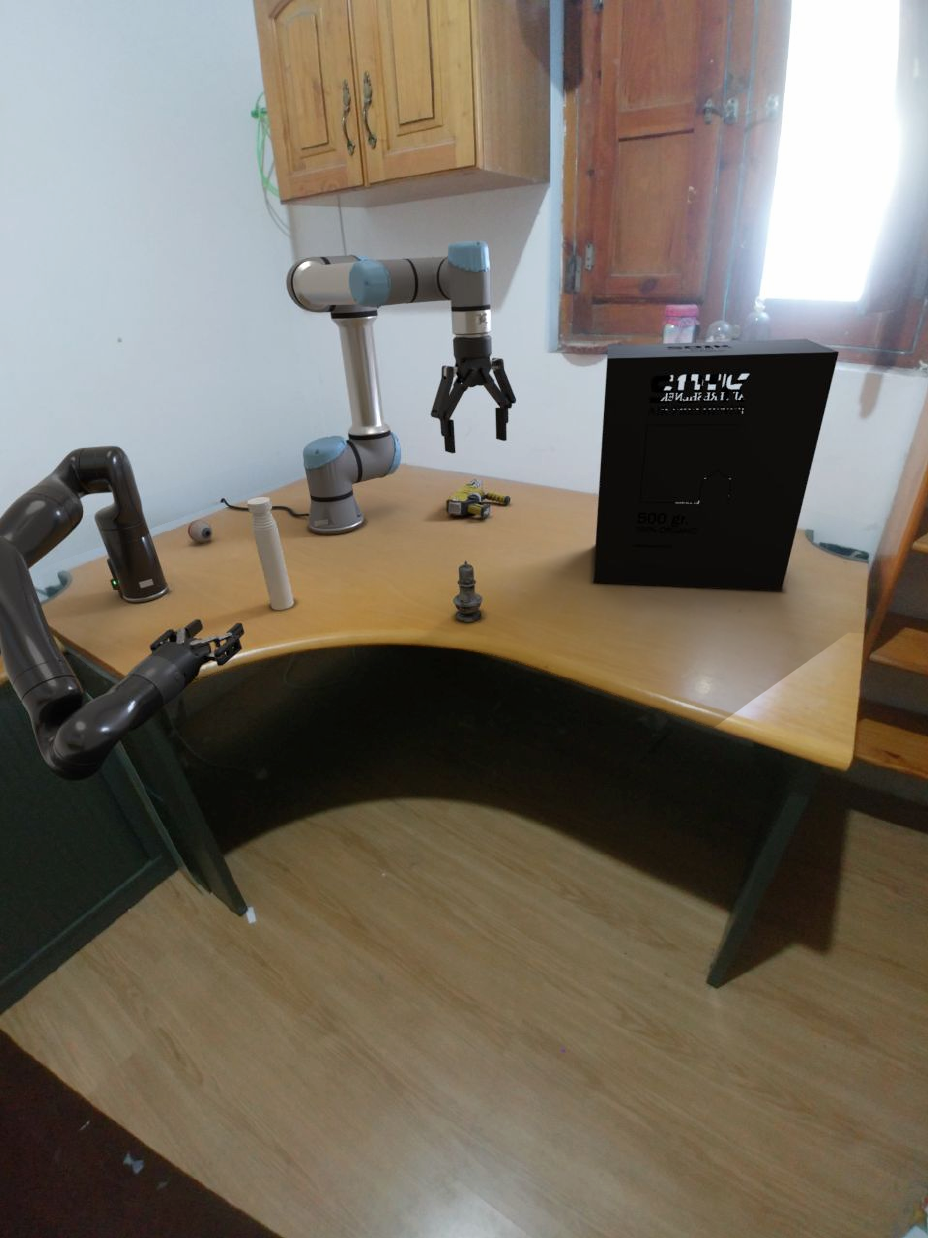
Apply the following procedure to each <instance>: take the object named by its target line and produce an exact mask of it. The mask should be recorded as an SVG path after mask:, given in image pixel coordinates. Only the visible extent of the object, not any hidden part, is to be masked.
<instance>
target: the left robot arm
mask: <svg viewBox="0 0 928 1238" xmlns="http://www.w3.org/2000/svg"><path fill="white" fill-rule="evenodd" d="M110 493H111V494H112V496H113V498H112V499H113V502H112V503H111V504H109V505H107V506H105V507H102V508H100V509H99V510H98V511H96V512H95V513H94V516H93V517H94V518H93V519H94V522H95V525H96V527H97V529H98V532H99V534H100V537H101V539H102V542H103V545H104V548H105V551H106V553H107V555H108V558H107V559H106V563H107V565H108V569H109V571H110V573H111V576H112V578H111V579H110V580H109V582H110V585H111V588H112V590H113V591H117V592H118V595H119V598H120V599H123V600H124V601H125V602H127V603H131V604H138V603H140V604H141V603H145V602H146V603H147V602H150V601H153V600H156V599H159V598H160V597H162V596H164V595H165V594H167V593H168V592H169V589H170V588H169V584H168V582H167V580H166V577H165V575H164V570H163V568H162V565H161V562H160V559H159V556H158V553H157V550H156V547H155V543H154V541H153V538H152V535H151V531H150V529H149V526H148V523H147V521H146V518H145V514H144V510H143V503H142V498H141V495H140V492H139V489H138V485H137V481H136V478H135V474H134V469H133V467H132V463H131V460H130V458H129V456H128V454H127V453H126V451H124V449H123V448H121V447H120V446H119V445H118V446H117V445H102V446H87V447H80V448H76V449H73V450H71V451H69V453H67V455H65V456H64V458H63V459H62V460H61V461H60V462H59V464H58V465H57V466H55V468H54V469H53V470H52V472H51V473H49V474H48V475H47V476H45V477H44V478H43V479H42V480H40V481H39V482H38V483H37V484H36V485H34V486H33V487H31V488H30V489H27V490H26V492H24V493H23V494H21V495H20V496H19V497H18V498H16V499H15V500H14V501H13V502H12V503H11V504H10V506H9V507H8V508H7V509H6V510H5V511H4V512H3V514H2V515H1V516H0V654H1V659H2V664H3V667H4V670H5V673H6V675H7V679H8V680H9V682H10V684H11V686H12V688H13V690H14V692H15V693H16V695H17V697H18V698H19V700H20V702H21V704H22V705H23V707H24V709H25V711H26V712H27V713H28V715H29V719H30V723H31V726H32V730H33V733H34V737H35V740H36V743H37V746H38V749H39V752H40V754H41V757H42V759H43V762H44V763H45V764H46V766H47V767H48V769H49V770H50V771H51V772H52V773H53V774H55V776H57V777H59V778H61V779H63V780H65V781H66V780H67V781H70V782H71V781H73V782H77V781H84V780H87V779H89V778H91V777H92V776H94V775H95V774H96V773H98V771H99V770H100V769H101V768H102V766H103V765H104V764H105V762H106V760H107V758H108V757H109V755H110V754H111V752H112V750H113V749H114V748H115V746H116V745H117V744H118V743H120V741H121V740H122V739H123V738H124V737H125V736H126V735H127V734H129V733H130V732H133V731H136V730H138V729H139V728H140V727H142V726H143V725H144V724H145V723H147V722H148V721H149V720H150V719H151V718H152V717H153V716H154V715H155V714H156V713H157V712H158V711H160V709H162V708H163V707H165V706H166V705H168V704H169V703H170V702H172V700H174V699H175V698H176V697H177V696H179V694H180V693H182V692H183V690H185V688H187V687H188V686H189V685H190V684H191V683H192V682H193V681H194V680H195V679H196V678H198V676H199V674H200V671H201V668H202V666H204V665H205V664H207V663H209V662H210V661H211V662H215V663H216V664H217V666H218V667H222V666H225V664H226V663H228V662H229V661H231V659H232V658H233V657H235V656H236V655H237V654H238V653H240V651H241V650H242V649H243V646H242V643H241V640H240V639H241V638H242V637H243V636H244V635H245V628H244V626H243V625H244V624H243V623H242V622H236V623H235V624H234V625H233V626H232V627H230V629H228V630H227V631H226V633H223V634H220V635H216V634H213V635H209V636H207V637H204V638H196V636H197V635H198V634H199V633H200V632H202V630H204V626H203V623H202V620H201V619H200V618H196V619H194V620H193V621H191V622H190V623H188V624H187V625H186V626H185V627H181V628H179V629H177V630H175V629H173V628H171V629H167V630H166V631H165V632H164V633H163V634H161V635H160V636H159V637H158V638H157V639H156V640H154V641H153V642H152V643H151V644H149V648H150V652H151V653H150V654H149V655H147V656H146V657H145V658H144V659H142V660H141V661H140V662H138V663H137V664H136V665H135V666H134V667H133V668H132V669H130V671H129V672H128V673H127V675H125V676H124V677H122V678H121V679H120V680H119V681H118V682H117V683H115V684H114V685H113V686H111V687H110V688H109V689H108V690H107V691H106V692H105V693H104V694H102V695H99V696H97V697H95V698H94V699H92V700H90V701H88V702H87V703H84V699H85V695H84V693H85V692H84V690H83V687H82V684H81V683H80V680H79V679H78V677H77V676H76V674H75V672H74V670H73V669H72V667H71V665H70V663H69V662H68V660H67V659H66V657H65V655H64V653H63V652H62V650H61V648H60V646H59V645H58V642H57V641H56V639H55V637H54V635H53V632H52V630H51V627H50V625H49V623H48V620H47V618H46V615H45V612H44V609H43V607H42V604H41V601H40V598H39V596H38V593H37V591H36V588H35V584H34V582H33V579H32V576H31V573H30V569H31V568H32V567H34V565H36V564H37V563H38V562H40V561H41V560H42V559H43V558H45V557H46V556H47V555H48V554H50V553H51V552H52V551H53V550H54V549H55V548H57V547H58V546H59V545H60V544H61V543H62V542H63V541H64V540H66V538H68V537H69V535H71V534H72V533H73V532H74V530H76V529H77V527H78V526H79V525H80V524H81V523H82V520H83V518H84V512H85V511H84V504H83V502H82V499H83V498H84V497H86V496H89V495H97V494H110ZM223 641H225V642H224V643H223V644H221V642H223ZM211 643H213V645H214V650H212V647H211Z"/></svg>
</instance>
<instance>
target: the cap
mask: <svg viewBox="0 0 928 1238" xmlns="http://www.w3.org/2000/svg"><path fill="white" fill-rule="evenodd" d="M272 506H273V504H272V501H271V498H270V497H268V496H267V497H266V496H260V497H253V498H251V499H249V500H247V508H248V509H249V510H248V512H249V513H251V514H253V513H264V512H267V511H271V510H273V509H272Z"/></svg>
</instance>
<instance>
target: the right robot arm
mask: <svg viewBox="0 0 928 1238" xmlns="http://www.w3.org/2000/svg"><path fill="white" fill-rule="evenodd" d="M490 263H491V262H490V252H489V245H488V244H487V242H485V241H484V240H466V241H455V242H451V243H450V244H449V245H448V247H447V256H431V257H430V256H427V257H413V258H411V257H410V258H391V259H390V258H386V259H374V258H370V257H369V256H367V255H358V254H349V255H328V256H326V255H325V256H310V257H305V258H302V259H300V260H298V261H296V262H295V263H293V265H291V267H290V268H289V269H288V272H287V275H286V281H285V282H286V283H285V284H286V285H285V286H286V290H287V293H288V296H289V297H290V299H291V300H292V303H294V304H295V305H296V306H298V307H299V308H300V309H302V310H304V311H306V312H310V313H318V314H319V313H320V314H321V313H330V320H331V321H332V322H333V323H334V324H335V325H336V326H337V327H338V332H339V333H338V334H339V339H340V347H341V355H342V361H343V369H344V375H345V382H346V383H345V384H346V389H347V396H348V404H349V410H350V418H351V425H350V426H349V428H348V430H347V436H348V439H345V437H343V436H341V435H332V436H324V437H321V438H318V439H315V440H312V441H311V442H309V443H308V444H306V445H305V446H304V448H303V450H302V457H303V459H302V460H303V467H304V471H305V476H306V481H307V486H308V492H309V498H310V507H309V512H308V513H296V512H294V511H293V510H292V509H291V508H290V507H288V506H284V505H272V509H271V510H274V509H281V510H283V509H284V510H287V511H288V512H289V513H290V514H291V515H292V516H293V517H297V518H298V517H308V521H307V522H308V523H307V524H308V528H309V529H308V530H310V531H311V532H312V533H314V534H317V535H323V536H324V535H325V536H327V535H329V536H331V535H339V534H340V535H341V534H345V533H350V532H353V531H355V530H357V529H359V528H361V527H362V526H363V525H364V523H365V519H364V514H363V512H362V510H361V508H360V505H359V504H358V501H357V500H356V498H355V495H354V489H353V485H354V484H355V485H356V484H359V483H363V482H368V481H371V480H375V479H381V478H385V477H387V476H390V475H392V474H394V473H396V472H397V470H398V469H399V467H400V465H401V462H402V446H401V443H400V441H399V437H398V436H397V435H396V434H395V432H394V431H391V426H390V425H388V423H386V422H385V420H384V419H385V418H384V410H383V402H382V393H381V385H380V377H379V368H378V367H379V366H378V358H377V349H376V341H375V331H374V324H375V322H376V320H377V319H378V317H379V314H378V309H379V308H381V307H385V306H394V305H403V304H405V305H406V304H417V303H419V304H420V303H427V302H428V303H429V302H444V301H448V302H449V301H450V311H451V313H450V314H451V315H450V316H451V334H453V335H454V337H453V339H452V350H453V358H454V359H455V363H454V366H452V365H442V366H441V373H440V374H441V375H440V376H441V377H440V381H439V384H438V388H437V390H436V395H435V398H434V401H433V404H432V407H431V411H430V416H431V418H435V419H438V421H439V426H440V435H441V437H443V441H444V442H443V443H444V452H446V453H450V454H456V433H455V420H454V419H451V418H452V416H453V414H454V413H455V410H456V409H457V406H458V404H459V402H460V401H461V399H462V397H463V396H464V393H465V392H466V391H468V389H469V388H474V387H477V386H478V387H482V386H483V387H484V389H485V390H486V391H487V392H488V394H489V396H491V398H492V399H493V401H494V402H495V403H496V405H497V406H498V407H495V408H494V410H495V411H494V413H495V414H494V415H495V439H496V440H499V441H502V442H507V441H508V438H507V435H508V433H507V424H509V410H510V409H512V407H513V404H516V403H517V398H516V394H515V393H514V390H513V388H512V385H511V383H510V380H509V378H508V375H507V373H506V370H505V363H504V362H505V361H504V359H503V358H499V357H493V358H491V356H492V354H493V346H492V344H493V343H492V340H493V339H492V336H491V335H489V333H491V332H492V315H491V314H492V312H491V311H492V309H491V264H490ZM491 370H492V374H493V376H494V378H493V376H492V375H491ZM455 377H456V378H455ZM454 378H455V380H454ZM495 381H496V383H497V384H496V383H495ZM220 503H224V504H225V505H226V506H227V507H228V508H230V509H234V510H241V511H249V509H248V507H243V506H235V505H231V504H230V503H229V502H228V501H227V499H225V498H224V497H222V498H221V499H220Z"/></svg>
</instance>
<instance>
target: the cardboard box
mask: <svg viewBox="0 0 928 1238" xmlns="http://www.w3.org/2000/svg"><path fill="white" fill-rule="evenodd" d="M839 353H840V352H839V351H837V350H835V349H832V348H830V347H828V346H825V345H823V344H819V343H817V342H815V341H812V340H810V339H808V338H795V339H791V338H790V339H789V338H787V339H765V340H764V339H761V340H759V339H758V340H732V341H730V340H729V341H728V340H727V341H698V342H697V341H696V342H669V343H639V344H638V343H636V344H635V343H634V344H632V343H631V344H609V345H607V355H606V356H607V357H606V371H605V384H604V400H603V401H604V403H603V418H602V432H601V433H602V436H601V450H600V453H601V454H600V464H599V465H600V466H599V467H600V468H599V481H598V482H599V483H598V484H599V485H598V498H597V515H596V530H595V545H594V546H595V548H594V565H593V583H594V584H614V585H615V584H616V585H618V584H619V585H637V586H639V585H641V586H658V587H659V586H663V587H681V588H682V587H684V588H703V589H705V588H707V589H727V590H728V589H729V590H747V591H767V592H768V591H769V592H771V591H772V592H782V591H783V587H784V583H785V578H786V575H787V572H788V571H787V570H788V567H789V562H790V558H791V554H792V549H793V545H794V542H795V537H796V532H797V528H798V525H799V520H800V516H801V512H802V509H803V508H802V507H803V503H804V499H805V495H806V490H807V487H808V482H809V478H810V476H811V475H810V474H811V470H812V467H813V462H814V457H815V454H816V449H817V445H818V442H819V436H820V432H821V428H822V424H823V420H824V416H825V411H826V408H827V404H828V399H829V395H830V391H831V387H832V382H833V379H834V374H835V370H836V366H837V362H838V358H839ZM742 374H743V375H747V377H746V378H744V379H739V378H740V377H741V376H742ZM693 375H695V376H696V375H697V382H696V380H695V379H693V380H692V377H693ZM707 375H709V378H708V379H707ZM682 376H685V380H684V382H683V389H679V385H680V379H679V378H680V377H682ZM730 376H731V377H730ZM729 377H730V383H729V385H730V386H735V385H740V386H739V388H729V387H728V379H729ZM706 379H707V380H706ZM696 385H699V389H695V388H696ZM713 385H714V386H715V387H714V389H709V386H713ZM667 387H670V389H666V388H667Z"/></svg>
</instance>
